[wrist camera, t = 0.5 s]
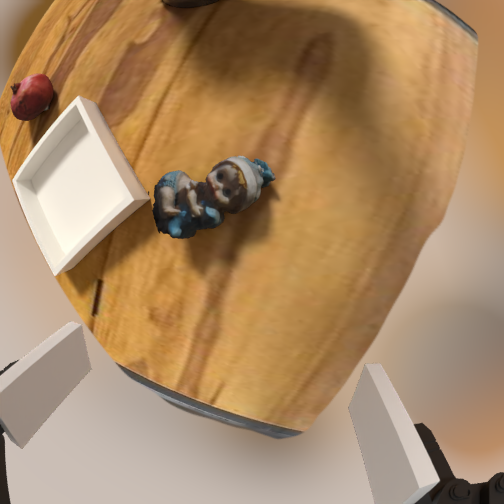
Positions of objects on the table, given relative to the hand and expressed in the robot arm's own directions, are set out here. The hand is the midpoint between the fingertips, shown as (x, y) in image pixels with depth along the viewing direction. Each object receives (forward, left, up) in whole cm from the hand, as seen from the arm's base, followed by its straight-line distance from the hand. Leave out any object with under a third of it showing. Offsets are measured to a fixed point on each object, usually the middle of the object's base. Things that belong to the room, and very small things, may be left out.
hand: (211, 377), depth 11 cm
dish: (-9, -29, -27) cm, 40 cm away
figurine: (-7, -5, -27) cm, 29 cm away
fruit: (-27, -41, -27) cm, 56 cm away
